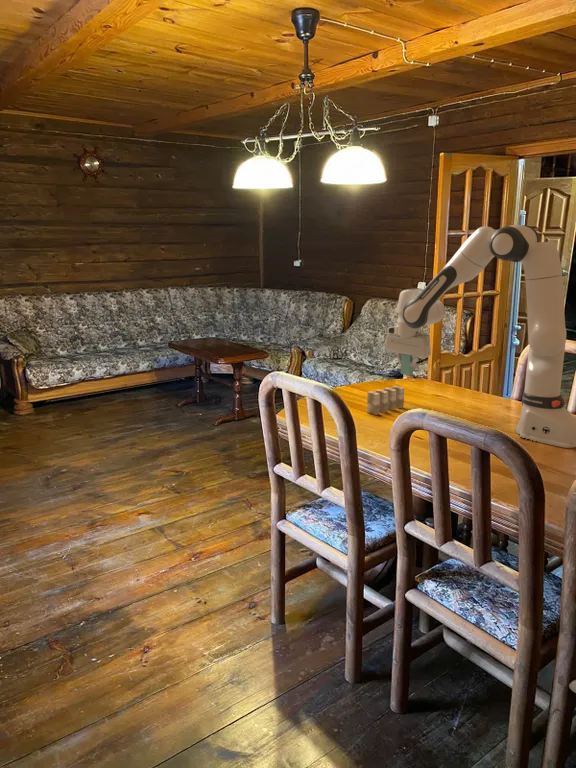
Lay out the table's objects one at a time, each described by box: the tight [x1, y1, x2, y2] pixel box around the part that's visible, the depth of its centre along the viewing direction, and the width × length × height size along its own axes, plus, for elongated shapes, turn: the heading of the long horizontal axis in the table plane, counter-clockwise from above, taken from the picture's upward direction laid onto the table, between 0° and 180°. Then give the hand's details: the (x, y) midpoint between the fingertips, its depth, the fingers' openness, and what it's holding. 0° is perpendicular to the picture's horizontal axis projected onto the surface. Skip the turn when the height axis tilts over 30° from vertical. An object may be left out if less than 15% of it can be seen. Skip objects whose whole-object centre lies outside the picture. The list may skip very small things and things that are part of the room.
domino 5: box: [400, 354, 414, 376], centre depth 232 cm, size 5×2×8 cm, turn 37°
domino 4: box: [391, 385, 405, 409], centre depth 232 cm, size 5×2×8 cm, turn 37°
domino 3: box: [383, 387, 397, 411], centre depth 230 cm, size 5×2×8 cm, turn 37°
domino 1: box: [366, 391, 380, 416], centre depth 225 cm, size 5×2×8 cm, turn 37°
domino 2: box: [375, 389, 388, 414], centre depth 227 cm, size 5×2×8 cm, turn 37°
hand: (406, 365), depth 232 cm, fingers closed on domino 5, 5 cm apart
